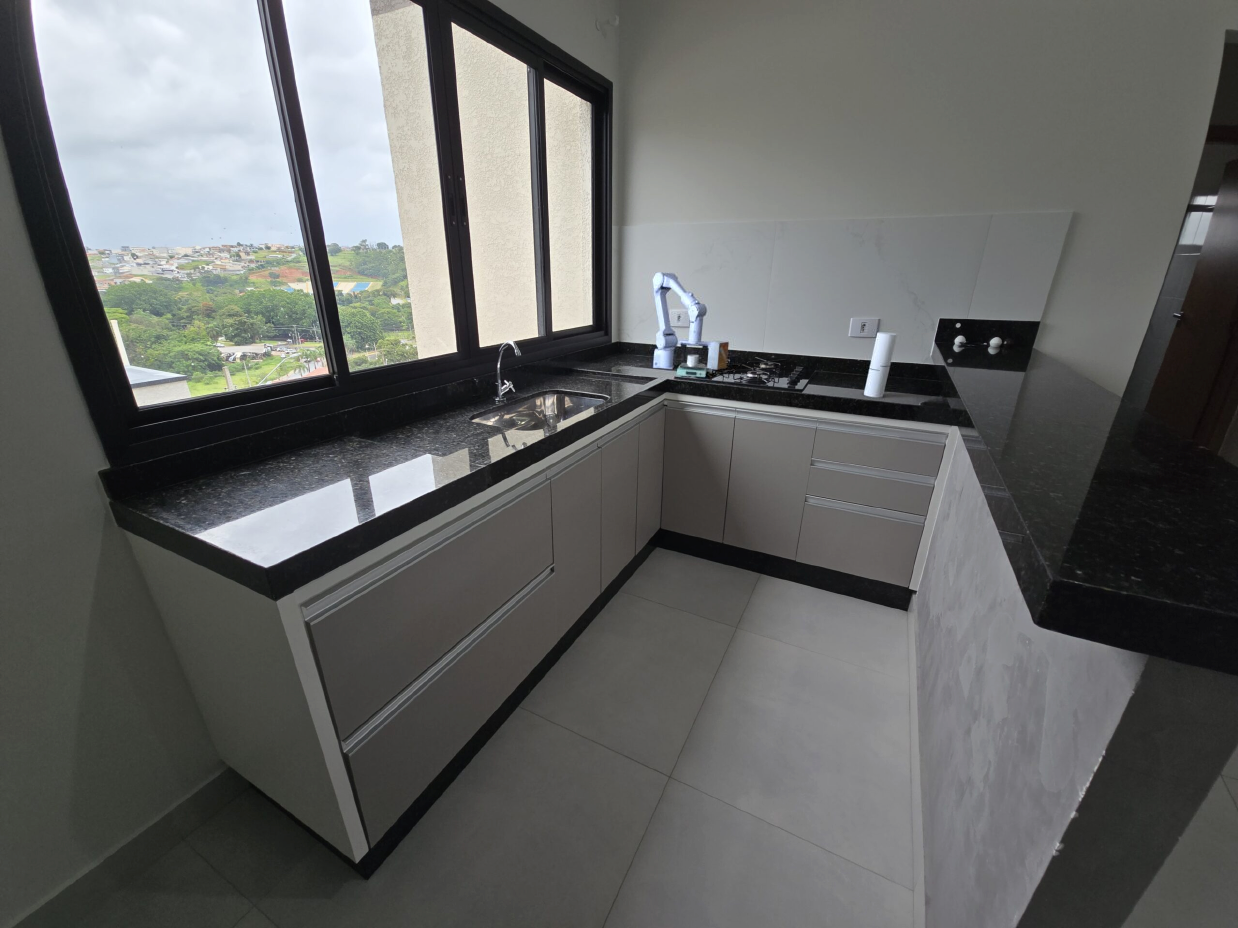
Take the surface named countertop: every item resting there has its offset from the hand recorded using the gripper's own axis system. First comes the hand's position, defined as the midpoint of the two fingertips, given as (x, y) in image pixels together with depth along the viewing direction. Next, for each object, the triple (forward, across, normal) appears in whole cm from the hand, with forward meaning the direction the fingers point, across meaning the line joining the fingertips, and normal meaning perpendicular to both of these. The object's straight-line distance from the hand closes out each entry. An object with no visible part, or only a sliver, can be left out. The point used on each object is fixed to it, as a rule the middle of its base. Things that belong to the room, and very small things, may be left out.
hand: (692, 361), depth 235 cm
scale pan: (+2, 0, 0) cm, 2 cm away
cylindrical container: (+6, +76, -16) cm, 78 cm away
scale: (+6, 0, 0) cm, 6 cm away
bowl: (+2, 0, 0) cm, 2 cm away
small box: (+6, +11, +20) cm, 24 cm away
